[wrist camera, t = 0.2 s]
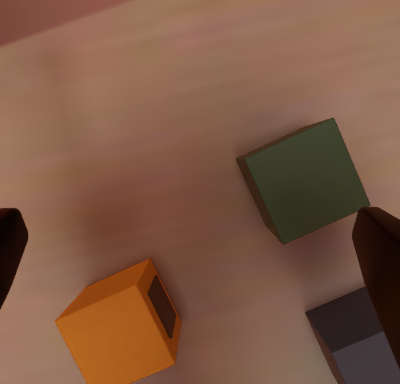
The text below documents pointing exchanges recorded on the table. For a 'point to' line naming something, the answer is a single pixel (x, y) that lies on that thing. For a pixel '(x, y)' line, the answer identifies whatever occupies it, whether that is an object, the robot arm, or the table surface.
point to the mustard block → (122, 327)
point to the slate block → (354, 340)
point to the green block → (303, 181)
